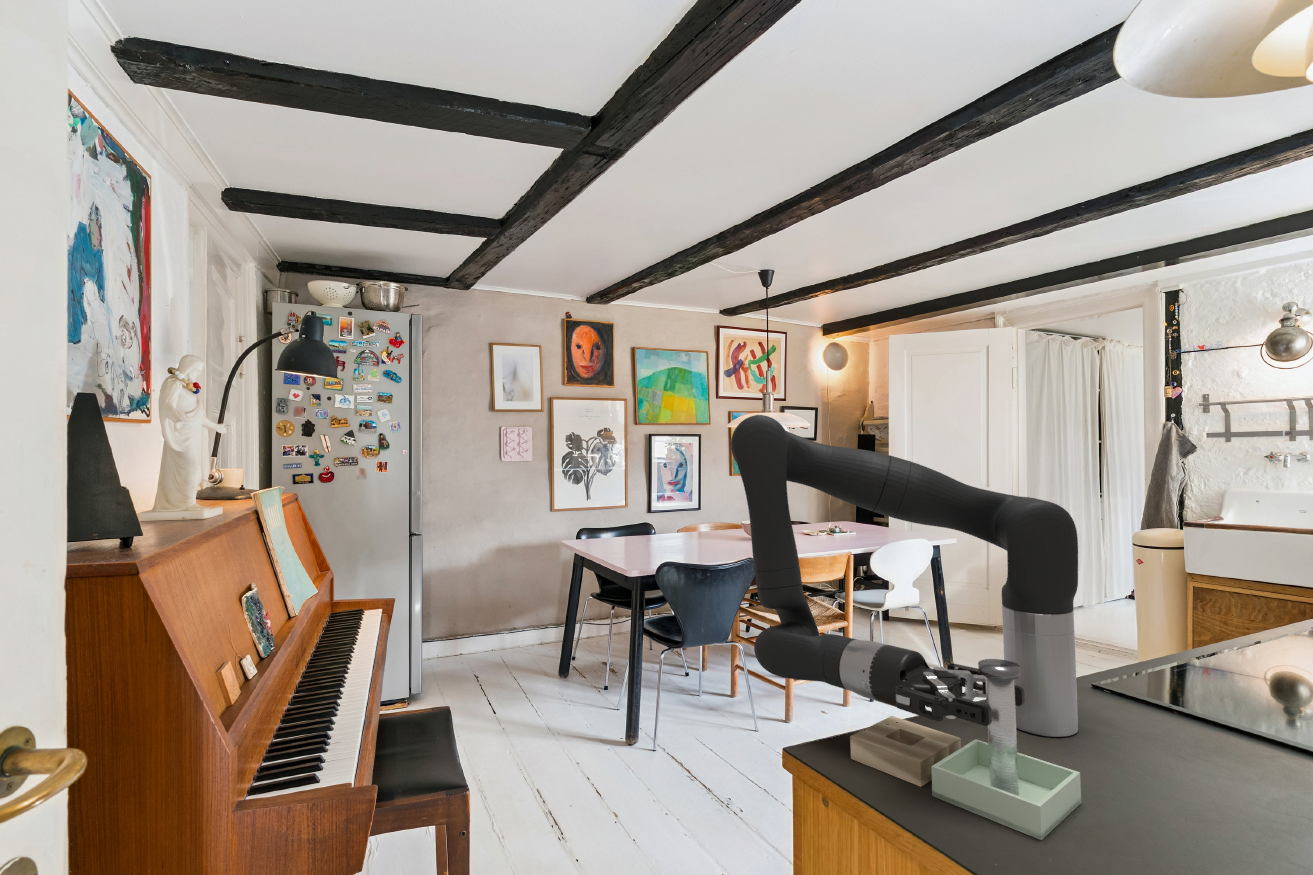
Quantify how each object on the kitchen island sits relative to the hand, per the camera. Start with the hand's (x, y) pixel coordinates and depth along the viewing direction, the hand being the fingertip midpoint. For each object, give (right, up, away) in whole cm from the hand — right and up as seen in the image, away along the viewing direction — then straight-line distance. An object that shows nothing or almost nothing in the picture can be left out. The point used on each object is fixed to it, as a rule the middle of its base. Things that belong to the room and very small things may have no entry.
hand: (1007, 706), depth 78 cm
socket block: (-8, -11, +11) cm, 17 cm away
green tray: (0, -11, 0) cm, 11 cm away
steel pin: (0, -10, 0) cm, 10 cm away
